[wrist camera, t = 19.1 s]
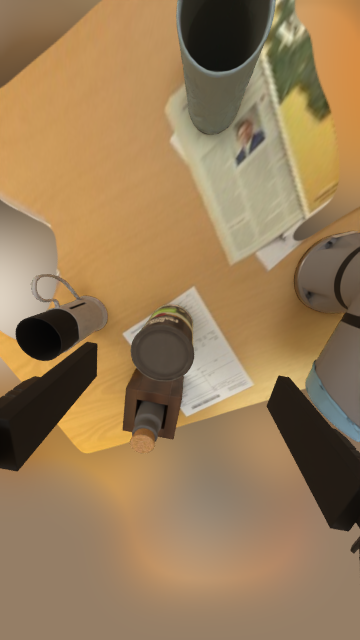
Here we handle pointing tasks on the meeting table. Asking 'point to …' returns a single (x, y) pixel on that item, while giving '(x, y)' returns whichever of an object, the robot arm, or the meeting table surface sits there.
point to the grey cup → (220, 55)
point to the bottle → (147, 426)
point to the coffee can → (165, 344)
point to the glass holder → (59, 324)
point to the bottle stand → (156, 393)
